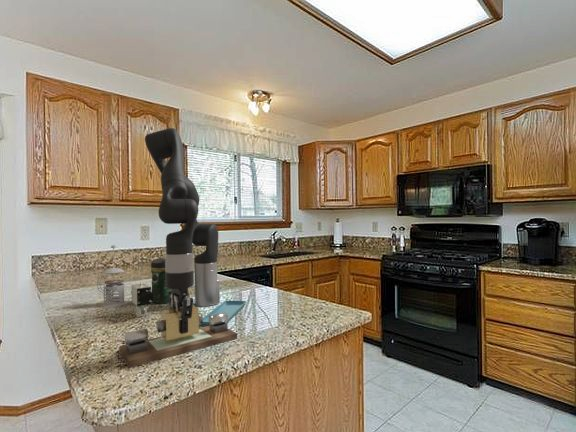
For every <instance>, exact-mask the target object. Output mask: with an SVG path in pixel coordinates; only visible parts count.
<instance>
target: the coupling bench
mask: <svg viewBox="0 0 576 432" xmlns="http://www.w3.org/2000/svg"><path fill="white" fill-rule="evenodd" d="M225 322H228V314H227V313H226V312H224V313H219V314H214V315H210V316H209V324H210V326H202V327H199V333H198V334H194V335H190V336H185V337H181V338H177V339H173V340H169V341H166V340H165V339H164V338H163V337H162V336H158V337H154V338H153V337H152V338H149V332H148V328H142V329H137V330H133V331H132V330H131V331H127V332H125V333H124V343H125V344H123V345H119V346H118V352H119V353H120V355H121V357H122V359H123V360H124V362H125V363H126V364H127V366H128V368H132V367H135V366H140V365H143V364H146V363H150V362H155V361H159V360H161V359H165V358H169V357H173V356H177V355H180V354H184V353H188V352H192V351H195V350H200V349H203V348H207V347H211V346H215V345H219V344H222V343H227V342H230V341H234V340H237V339H238V333H237V332H236V331H234V330H231V329H230V328H228V326H229V325H228V323H229V322H228V323H225Z"/></svg>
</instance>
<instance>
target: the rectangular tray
mask: <svg viewBox="0 0 576 432" xmlns="http://www.w3.org/2000/svg"><path fill="white" fill-rule="evenodd" d="M246 303H247V300H224V301H223V302H221V304H219V305H218V306H217V307H215V308H214V309H213V310H211V311H210V312H209V313H207V314H206V315H205V316H204V317H203V322H202V323H201V324H200V325H201V326H202V327H206V326H210V324H209V316H210V315H214V314H219V313H224V312H226V313H227V314H228V322H225V323H227V324H228V323H230V321H231V320H232V319H233V318H234V317H236V315H238V313H239V312H241V310H243V309H244V307H245V306H246Z"/></svg>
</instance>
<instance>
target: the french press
mask: <svg viewBox="0 0 576 432" xmlns="http://www.w3.org/2000/svg"><path fill="white" fill-rule="evenodd" d="M110 248H111V249H113V251H112V253H113V256H112V257H113V266H115V249H116V248H117V245H114V244H112V245H111V246H110ZM124 273H125V270H123V269H122V268H118V267H112V268H109V269H106V270H103V272H102V274H103V275H101V276H99V278H98V279H97V282H96V286H97V290H98V291H99V292H100V293H102V294H103V303H102V304H101V305H100V307H101V308H117V307H120V306H124V305H127V304H128V302H127V301H126V300H125V283H123V282H124V280H123V279H111V280H106V277H107V275H117V274H118V275H119V274H124ZM102 279H104V280H106V281H104V282H103V283H104V284H105V285H103V288H102V286H101V285H98V284H99V282H100V281H101V280H102ZM99 288H100V289H99Z"/></svg>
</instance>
